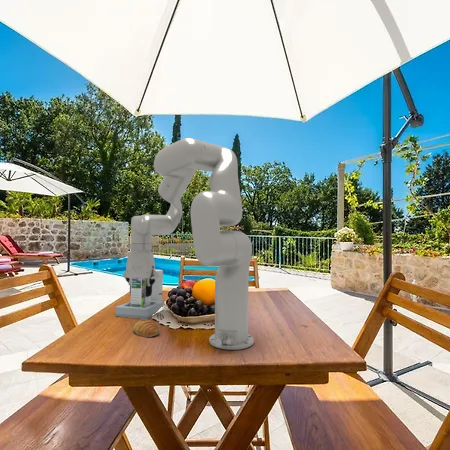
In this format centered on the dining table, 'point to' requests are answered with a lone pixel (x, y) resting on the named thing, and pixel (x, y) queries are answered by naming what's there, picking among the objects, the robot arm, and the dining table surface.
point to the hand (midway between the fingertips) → (140, 295)
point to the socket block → (138, 310)
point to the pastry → (146, 328)
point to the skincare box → (157, 287)
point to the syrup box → (139, 293)
